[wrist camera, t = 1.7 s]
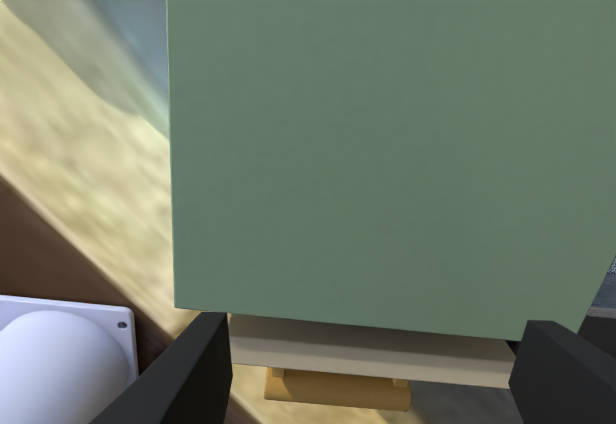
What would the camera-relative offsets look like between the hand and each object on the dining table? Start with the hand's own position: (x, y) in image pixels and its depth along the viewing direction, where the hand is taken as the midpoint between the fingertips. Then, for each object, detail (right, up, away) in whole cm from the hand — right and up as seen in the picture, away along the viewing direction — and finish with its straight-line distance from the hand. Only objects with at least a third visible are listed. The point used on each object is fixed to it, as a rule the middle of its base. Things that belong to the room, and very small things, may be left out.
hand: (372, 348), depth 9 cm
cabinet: (+1, +9, +7) cm, 11 cm away
